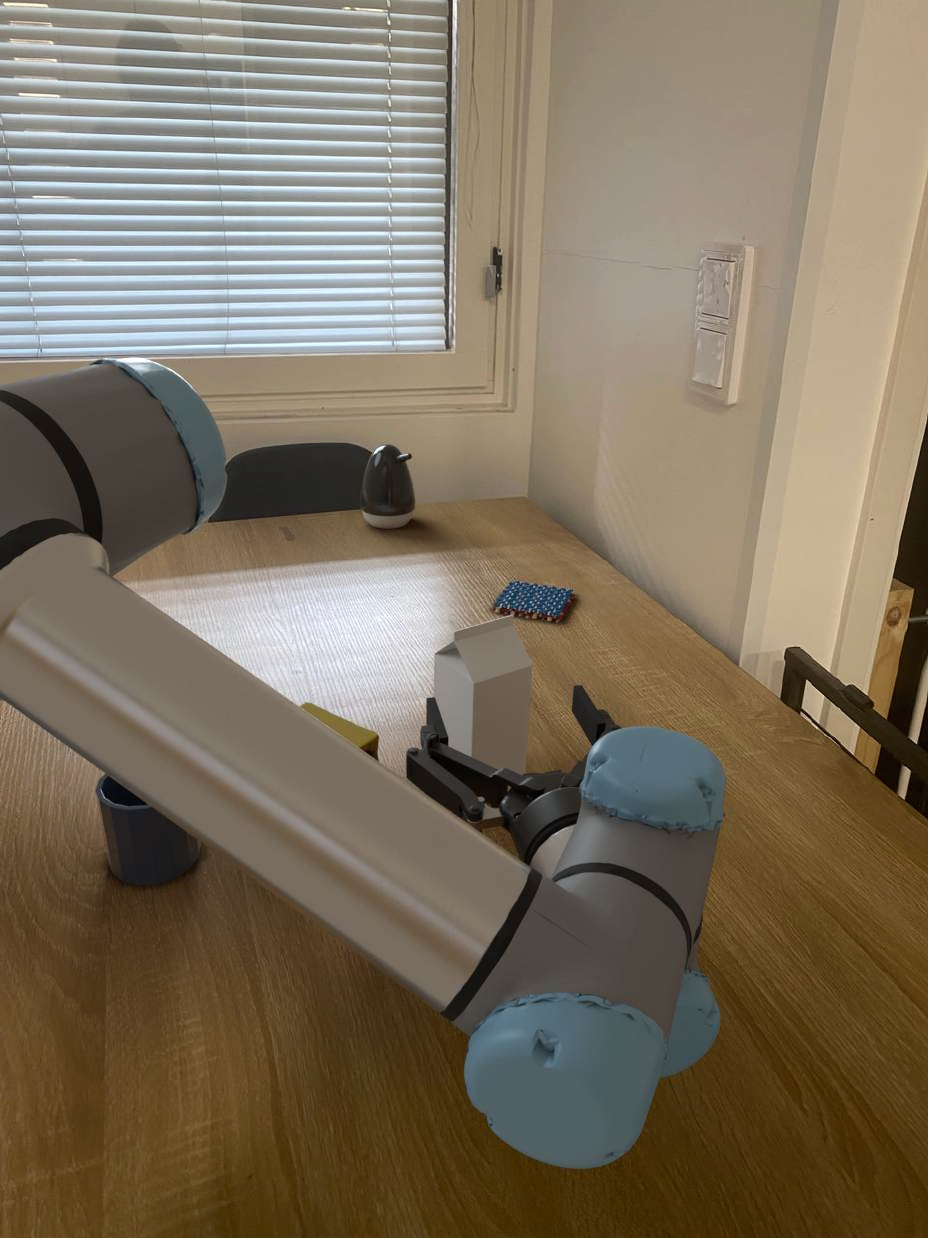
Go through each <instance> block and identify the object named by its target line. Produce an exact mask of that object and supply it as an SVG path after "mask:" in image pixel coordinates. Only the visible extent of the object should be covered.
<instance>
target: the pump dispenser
mask: <svg viewBox="0 0 928 1238" xmlns="http://www.w3.org/2000/svg"><path fill="white" fill-rule="evenodd" d="M412 458H413V454H412V453H410V452H409V453H404V454H403V453H402V451H401V450H400V449H399V448H398V446H396V445H393V444H390V443H384V444H381V445H379V446H377V447H376V448H375V449H374V450H373V451H372V453H371V455H370V457H369V459H368V462H367V464H366V467H365V469H364V473H363V476H362V482H361V488H360V495H359V508H360V510H361V512H362V516H363V518H364V519H365V521H366V522H367V523H368V524H369V525H370V526H372V527H373V528H377V529H382V530H383V529H385V530H391V529H398V528H399V529H400V528H403V527H404V526H406V525H407V524H408V523H409V522H410V521H411V519H412V517H413V515H414V512H415V510H416V508H417V501H416V493H415V492H416V491H415V486H414V481H413V478H412V475H411V471H410V468H409V465H408V463H407V461H409V460H412Z"/></svg>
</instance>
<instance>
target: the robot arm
mask: <svg viewBox="0 0 928 1238" xmlns="http://www.w3.org/2000/svg"><path fill="white" fill-rule="evenodd" d="M226 463H227V452H226V448H225V443H224V440H223V436H222V434H221V430H220V429H219V426H218V424H217V422H216V420H215V418H214V416H213V414H212V412H211V410H210V409H209V407H208V405H207V404H206V403H205V401H204V399H203V398H202V397H201V395H200V394H199V393H198V392H197V391H196V389H195V388H194V387H193V386H192V385H191V384H190V383H189V382H188V381H187V380H185V379H184V378H183V376H181V375H180V374H178V372H175V371H174V370H173V369H171V368H169V367H168V366H166V365H163V364H160V363H158V362H156V361H153V360H151V359H147V358H144V357H143V358H142V357H125V358H119V359H114V358H110V357H109V358H108V357H104V358H100V359H99V358H98V359H97V360H93V361H91V362H90V363H89V365H86V366H82V367H77V368H76V367H75V368H72V369H67V370H64V371H63V370H62V371H58V372H54V373H49V374H45V375H40V376H36V377H32V378H26V379H22V380H18V381H12V382H9V383H3V384H0V702H1V701H4V702H5V703H7V704H8V705H10V706H11V707H12V708H13V709H15V710H17V711H18V712H19V713H20V714H22V715H23V716H24V717H26V718H28V719H29V720H30V721H32V722H33V723H35V725H38V726H39V727H40V728H41V729H42V730H44V731H46V732H47V733H48V734H50V735H51V736H53V737H54V738H55V739H57V740H58V741H60V742H61V743H62V744H64V745H65V746H67V747H68V748H69V749H71V750H72V751H73V752H75V753H76V754H77V755H79V756H80V757H82V758H83V759H84V760H86V761H87V762H88V763H90V764H91V765H93V766H94V767H96V768H97V769H98V770H100V771H101V772H103V773H104V774H105V773H106V774H107V775H108V776H110V777H111V778H112V779H114V780H115V781H117V782H118V783H119V784H121V785H122V786H124V787H125V788H126V789H128V790H129V791H131V792H132V793H133V794H135V795H136V796H137V797H139V798H140V799H142V800H143V801H144V802H146V803H147V804H149V805H150V806H151V807H153V808H154V809H156V810H157V811H158V812H160V813H161V814H163V815H164V816H165V817H167V818H168V819H169V820H171V821H172V822H174V823H175V824H176V825H178V826H179V827H181V828H182V829H183V830H185V831H186V832H188V833H189V834H190V835H192V836H193V837H195V838H196V839H197V840H199V841H200V844H203V845H204V846H205V847H207V848H209V849H210V850H211V851H213V852H214V853H215V854H216V855H218V856H219V857H221V858H222V859H224V860H225V861H226V862H228V863H229V864H231V865H232V866H234V867H235V868H236V869H238V870H239V871H240V872H241V873H243V874H245V875H246V876H247V877H248V878H250V879H251V880H253V881H254V882H256V883H257V884H258V885H260V886H261V887H263V888H264V889H265V890H267V891H268V892H270V893H271V894H272V895H274V896H275V897H277V899H279V900H280V901H282V902H283V903H285V904H286V905H288V906H289V907H290V908H292V909H293V910H295V911H296V912H297V913H299V914H300V915H301V916H303V917H304V918H305V919H307V920H308V921H310V922H311V923H312V924H314V925H315V926H316V927H318V928H320V929H321V930H323V931H324V932H325V933H326V934H328V935H329V936H331V937H332V938H333V939H334V940H336V941H337V942H339V943H341V944H342V945H343V946H345V947H346V948H347V949H349V950H350V951H352V952H353V953H354V954H356V955H357V956H358V957H360V958H361V959H363V960H364V961H366V962H367V963H369V964H370V965H372V967H374V968H375V969H376V970H378V972H379V971H380V972H381V974H384V975H385V976H386V977H388V978H389V979H390V980H392V981H393V982H395V983H396V984H398V985H399V986H400V987H402V988H403V989H405V990H406V991H407V992H409V993H410V994H412V995H413V996H414V997H416V998H417V999H418V1000H419V1001H421V1002H422V1003H424V1004H425V1005H427V1006H428V1007H429V1008H430V1009H432V1010H434V1011H435V1012H437V1013H438V1014H439V1015H440V1016H442V1017H443V1018H446V1020H448V1021H450V1024H452V1025H453V1026H454V1027H455V1028H457V1029H459V1030H460V1031H461V1032H463V1033H464V1034H466V1035H467V1036H468V1037H470V1038H469V1040H468V1043H467V1045H468V1046H467V1047H468V1048H467V1049H468V1051H467V1053H466V1056H465V1061H464V1066H463V1067H464V1068H463V1078H464V1082H465V1083H464V1084H465V1086H466V1092H467V1093H466V1094H467V1096H468V1098H469V1100H470V1102H471V1104H472V1106H473V1107H474V1108H475V1109H476V1110H477V1111H479V1112H480V1113H483V1114H484V1115H485V1117H486V1119H487V1125H488V1127H489V1128H490V1130H491V1131H492V1133H494V1134H495V1135H496V1136H497V1137H498V1138H499V1139H501V1140H502V1141H503V1142H504V1143H505V1144H506V1145H508V1146H510V1147H511V1148H513V1149H514V1150H516V1151H518V1152H519V1153H521V1154H523V1155H525V1156H527V1157H529V1158H531V1159H533V1160H536V1161H538V1162H541V1163H544V1164H548V1165H551V1166H555V1167H560V1168H565V1169H573V1170H574V1169H575V1170H583V1169H584V1170H585V1169H586V1170H588V1169H592V1168H600V1167H602V1166H605V1165H606V1166H607V1165H608V1164H610V1163H612V1162H614V1161H616V1160H618V1159H619V1158H621V1157H623V1156H624V1155H625V1154H627V1153H630V1151H631V1149H632V1147H633V1146H634V1144H635V1143H636V1142H637V1141H638V1139H639V1137H640V1136H641V1133H642V1131H643V1129H644V1127H645V1126H644V1125H645V1123H646V1120H647V1116H648V1113H649V1110H650V1107H651V1105H652V1102H653V1098H654V1096H655V1093H656V1089H657V1087H658V1084H659V1081H660V1079H661V1078H668V1077H671V1076H674V1075H676V1074H679V1073H681V1072H683V1071H685V1070H686V1069H688V1068H690V1067H691V1066H693V1065H695V1064H696V1063H697V1062H698V1061H699V1060H700V1059H701V1058H703V1057H704V1056H705V1054H706V1053H707V1052H708V1051H710V1049H711V1048H712V1046H713V1045H714V1043H715V1041H716V1039H717V1036H718V1034H719V1033H720V1027H721V1020H722V1019H721V1012H720V1007H719V1005H718V1002H717V1000H716V997H715V995H714V993H713V991H712V988H711V984H710V982H711V981H710V979H709V978H708V976H707V975H706V974H705V973H703V971H701V969H700V966H699V963H698V950H699V945H700V939H701V934H702V927H703V920H704V919H703V918H704V907H705V903H706V898H707V893H708V889H709V885H710V880H711V877H712V871H713V870H712V869H713V868H714V867H713V866H714V862H715V856H716V852H717V847H718V842H719V837H720V831H721V827H722V826H723V821H724V820H725V817H726V813H725V812H724V802H725V795H726V788H727V787H726V786H727V776H726V770H725V768H724V766H723V763H722V762H721V760H720V758H719V757H718V756H717V755H716V753H715V752H714V751H712V750H711V748H709V747H708V746H707V745H706V744H705V743H703V742H701V741H700V740H698V739H696V738H695V737H693V736H690V735H688V734H686V733H683V732H680V731H675V730H671V729H667V728H662V727H659V726H651V725H637V726H635V725H634V726H628V727H627V726H626V727H621V725H619V724H616V723H615V721H614V719H613V718H612V716H611V715H610V713H609V712H608V711H607V710H606V709H604V708H602V709H598V708H597V707H596V705H595V703H594V702H593V700H592V699H591V698H590V696H589V694H588V692H587V691H586V689H585V688H584V686H583V685H582V684H578V685H573V691H572V700H571V701H572V702H571V713H572V714H573V716H574V718H575V720H576V721H577V723H578V724H579V726H580V728H581V730H582V731H583V733H584V735H585V736H586V738H587V740H588V742H589V744H590V745H591V748H589V750H588V752H587V753H586V754H585V756H584V757H583V758H582V759H578V760H577V762H576V763H575V764H574V765H573V767H572V768H571V769H570V770H569V772H563V771H562V770H561V769H557V770H555V769H554V770H549V771H545V772H541V773H540V772H528V773H526V774H523V776H522V775H520V774H518V773H516V772H514V771H512V770H509V769H507V768H502V769H500V770H498V769H496V768H493V767H491V766H489V765H487V764H485V763H483V762H481V761H479V760H476V759H474V758H472V757H470V756H468V755H466V754H464V753H462V752H459V751H457V750H455V749H453V748H451V747H449V746H448V741H449V737H448V734H447V731H446V728H445V725H444V722H443V720H442V717H441V714H440V711H439V708H438V705H437V702H436V699H435V697H434V696H432V697H426V698H425V699H426V702H425V703H426V710H425V712H426V713H425V714H426V715H425V721H426V722H425V724H426V725H421V727H420V729H419V731H420V732H419V733H420V740H419V741H420V743H419V744H420V747H421V749H420V748H419V747H409V748H408V749H406V755H405V773H406V775H405V776H406V779H407V780H406V779H404V778H403V777H402V776H400V775H399V774H397V772H395V771H393V770H391V769H390V768H389V767H387V766H386V765H385V764H383V763H381V762H380V761H377V760H376V759H374V758H373V757H371V756H370V755H368V754H367V753H366V752H364V751H363V750H361V749H360V748H358V747H357V746H355V745H354V744H353V743H351V742H350V741H348V740H347V739H345V738H344V737H343V736H341V735H340V734H338V733H337V732H335V731H334V730H332V729H331V728H330V727H328V726H327V725H325V724H324V723H322V722H321V721H319V720H318V719H317V718H315V717H314V716H312V715H311V714H309V713H308V712H307V711H305V710H304V709H302V708H301V707H299V706H300V705H298V704H296V703H295V702H293V701H292V700H291V699H290V698H288V697H286V696H285V695H283V694H282V693H281V692H279V691H278V690H277V689H275V688H273V687H272V686H270V684H267V683H266V682H265V681H264V680H262V679H260V678H259V677H258V676H256V675H255V674H253V673H252V672H250V671H249V670H248V669H246V668H244V667H243V666H242V665H240V664H239V663H238V662H236V661H235V660H233V659H232V658H230V657H229V656H228V655H226V654H225V653H223V652H222V651H220V650H219V649H217V648H216V647H215V646H213V645H211V644H210V643H209V642H207V641H206V640H204V639H203V638H202V637H200V636H199V635H197V634H196V633H195V632H193V631H191V630H190V629H188V628H187V627H186V626H184V625H183V624H182V623H180V622H178V621H177V620H176V619H174V618H173V617H171V616H170V615H169V614H167V613H166V612H164V611H163V610H161V609H160V608H158V607H157V606H155V605H154V604H153V603H151V602H150V601H148V600H147V599H145V598H144V597H142V595H140V594H138V593H137V592H135V591H134V590H132V589H131V588H129V587H128V586H127V585H125V584H124V583H122V581H119V580H118V579H117V578H115V577H114V576H115V575H117V574H119V573H120V572H121V571H123V570H124V569H126V568H127V567H129V566H130V565H132V564H133V563H134V562H136V561H138V559H140V558H142V557H144V556H145V555H146V554H147V553H149V552H151V551H152V550H154V549H156V548H157V547H160V546H161V545H163V544H164V543H166V542H168V541H170V540H171V539H174V538H176V537H178V536H180V535H182V536H185V535H188V534H191V533H193V532H195V531H196V530H197V529H198V528H199V527H200V525H201V524H202V523H204V522H206V521H207V520H208V519H209V518H211V517H212V516H213V515H214V514H215V513H216V511H217V510H218V508H219V507H220V505H221V503H222V501H223V498H224V496H225V493H226V488H227V483H228V475H227V471H226ZM408 781H409V782H408ZM411 783H412V784H411ZM508 786H510V787H511V788H510V790H509V791H508ZM477 797H478V798H477ZM486 802H487V803H489V805H488V804H487V803H486ZM497 827H501V828H502V829H504V830H505V831H506V832H507V833H509V835H510V836H511V840H512V842H513V845H514V848H515V851H516V853H517V856H518V857H517V856H516V855H514V854H512V853H511V852H510V851H508V850H507V849H506V848H504V847H503V846H501V845H499V844H498V843H496V841H494V840H492V839H491V838H489V837H488V836H487V835H485V834H484V833H483V830H487V829H493V828H497Z"/></svg>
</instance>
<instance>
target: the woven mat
mask: <svg viewBox="0 0 928 1238" xmlns="http://www.w3.org/2000/svg"><path fill="white" fill-rule="evenodd" d="M572 592H574V589H572V588H571V589H569V588H565V587H560V586H559V587H556V586H555V585H552V586H551V585H547V584H544V585H541V584H538V583H536V582H535V583H532V582H530V583H529V582H527V581H525V582H523V581H520V580H514V581H509V582H508V585H505V589H503V590H502V593H500V594H499V597H497V598H496V601H494V602H493V603H492V604H493V606H494V607H493V608H492V611H493V612H494V613H495V614H500V613H504V614H505V615H507V614H508V613H510V615H514V616H515V615H516V614H518V617H522V616H524V615H525V617H524V618H525V619H529V618H531V619H532V620H537V619H541V620H542V621H543V620H545V619H547V621H546V622H553V620H555V623H559V622H560V621H562V620H563V618H566V613H567V612H568V609H569V607H570V606H571V605H572V604H573V603H572V602H573V601H574V599H575V597H576V593H572Z"/></svg>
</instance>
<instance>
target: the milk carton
mask: <svg viewBox="0 0 928 1238" xmlns="http://www.w3.org/2000/svg"><path fill="white" fill-rule="evenodd" d="M514 619H515V615H511V614H509V615H505V616H501V617H498V618H495V619H491V620H487V621H485V622H481V623H477V624H474V625H470V626H467V627H463V628H459V629H456V630H453V641H452V642H450V643H448V644H447V645H446V646H444V647H442V648H441V649H439V650H437V651H436V652H434V659H433V665H434V666H433V697H435V699H436V702H437V705H438V708H439V711H440V714H441V717H442V720H443V722H444V725H445V728H446V731H447V734H448V737H449V741H448V746H449V747H451V748H453V749H455V750H457V751H459V752H462V753H464V754H466V755H468V756H470V757H472V758H474V759H476V760H479V761H481V762H483V763H485V764H487V765H489V766H491V767H493V768H496V769H498V770H500V769H502V768H507V769H509V770H512V771H514V772H516V773H518V774H520V775H522V776H523V774H526V772H527V758H528V742H529V728H530V725H529V724H530V709H531V695H532V694H531V693H532V679H533V665H534V664H533V662H532V659H531V657H530V656H529V654H528V652H527V650H526V647H525V646H524V644H523V641H522V639H521V638H520V637H521V636H519V633H518V631H517V629H516V626H515V624H514V621H515V620H514ZM510 788H511V787H510V786H508V791H509V790H510ZM477 798H478V797H477Z"/></svg>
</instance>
